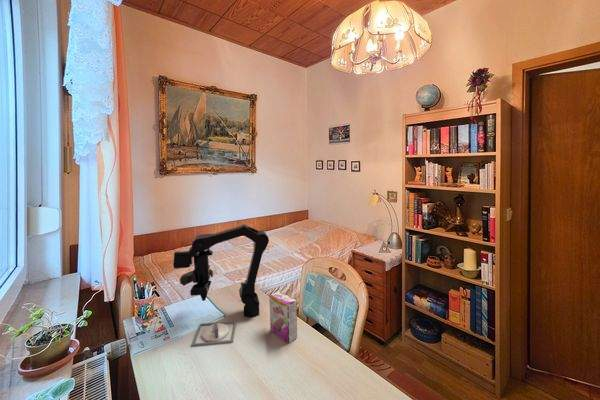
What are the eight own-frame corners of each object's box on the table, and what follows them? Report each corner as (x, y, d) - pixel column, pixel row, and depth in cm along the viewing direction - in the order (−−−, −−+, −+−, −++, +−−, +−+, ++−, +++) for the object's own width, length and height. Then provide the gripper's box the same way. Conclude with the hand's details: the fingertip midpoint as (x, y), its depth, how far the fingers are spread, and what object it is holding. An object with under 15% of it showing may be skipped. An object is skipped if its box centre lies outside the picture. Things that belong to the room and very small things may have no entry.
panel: (236, 324, 114) (236, 320, 114) (233, 345, 101) (232, 340, 101) (200, 327, 112) (200, 323, 112) (192, 349, 99) (191, 344, 99)
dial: (201, 329, 109) (200, 318, 108) (226, 323, 113) (226, 312, 112) (203, 344, 100) (202, 332, 99) (230, 337, 104) (229, 325, 103)
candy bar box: (269, 331, 109) (268, 294, 107) (278, 326, 113) (278, 290, 110) (288, 344, 102) (288, 304, 99) (297, 338, 105) (297, 299, 103)
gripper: (186, 258, 119) (188, 291, 121) (174, 276, 100) (178, 314, 103) (212, 257, 121) (214, 289, 123) (205, 274, 102) (208, 311, 105)
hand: (203, 300), depth 113 cm, fingers closed
